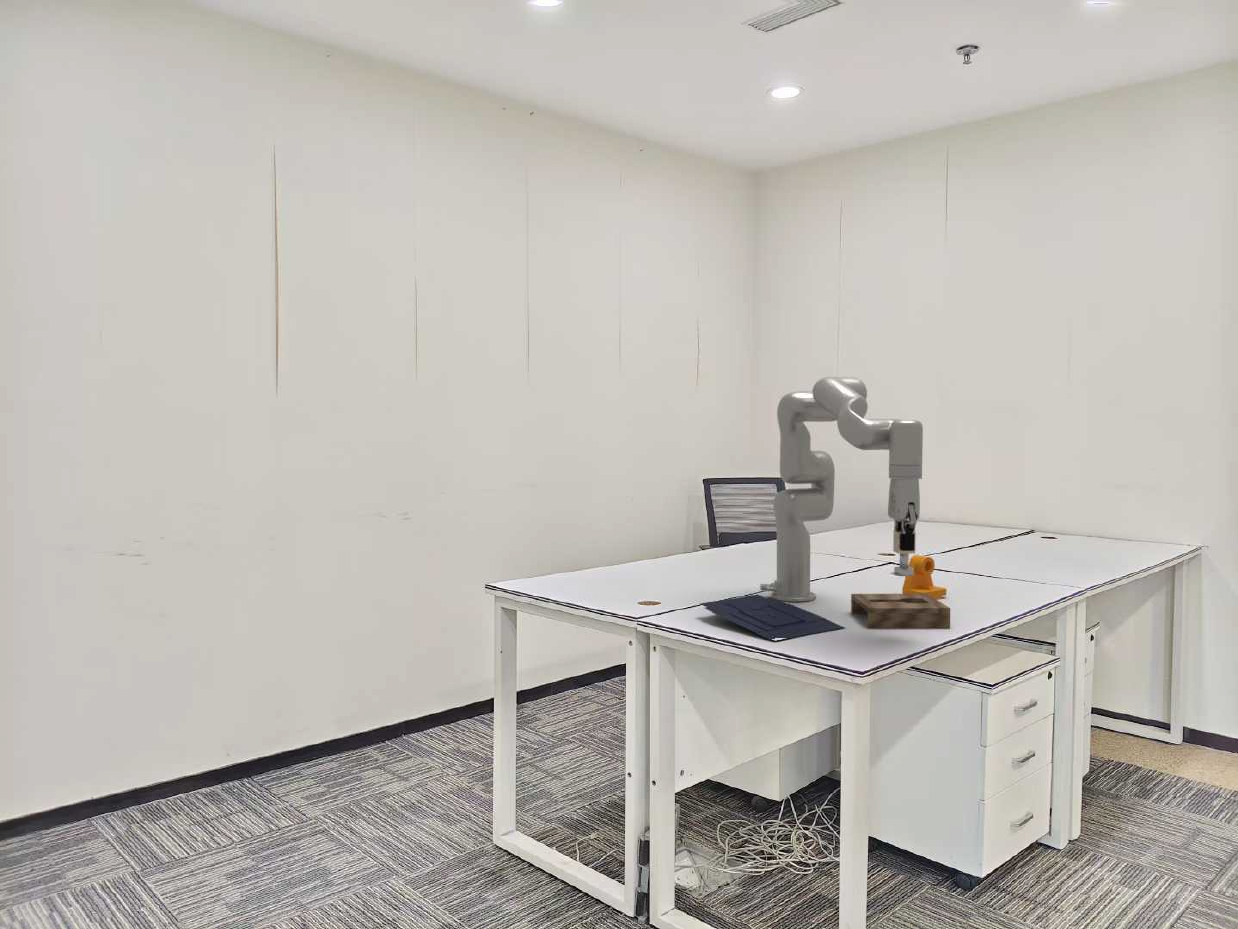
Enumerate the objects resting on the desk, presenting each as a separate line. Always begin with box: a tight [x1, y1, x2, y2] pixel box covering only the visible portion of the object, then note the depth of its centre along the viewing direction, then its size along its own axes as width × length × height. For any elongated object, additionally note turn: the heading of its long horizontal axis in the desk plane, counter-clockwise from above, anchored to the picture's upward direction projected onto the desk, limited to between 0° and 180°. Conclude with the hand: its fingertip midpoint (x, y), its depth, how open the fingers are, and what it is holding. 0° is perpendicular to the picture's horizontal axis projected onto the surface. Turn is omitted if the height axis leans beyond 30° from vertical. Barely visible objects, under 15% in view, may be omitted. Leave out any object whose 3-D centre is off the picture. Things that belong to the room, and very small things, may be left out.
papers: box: [699, 593, 845, 641], centre depth 227 cm, size 24×30×4 cm
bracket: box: [901, 554, 947, 601], centre depth 258 cm, size 11×7×12 cm, turn 122°
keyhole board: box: [850, 593, 951, 629], centre depth 230 cm, size 20×18×5 cm
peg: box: [892, 530, 917, 577], centre depth 212 cm, size 4×4×10 cm
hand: (904, 548), depth 212 cm, fingers closed on peg, 4 cm apart
